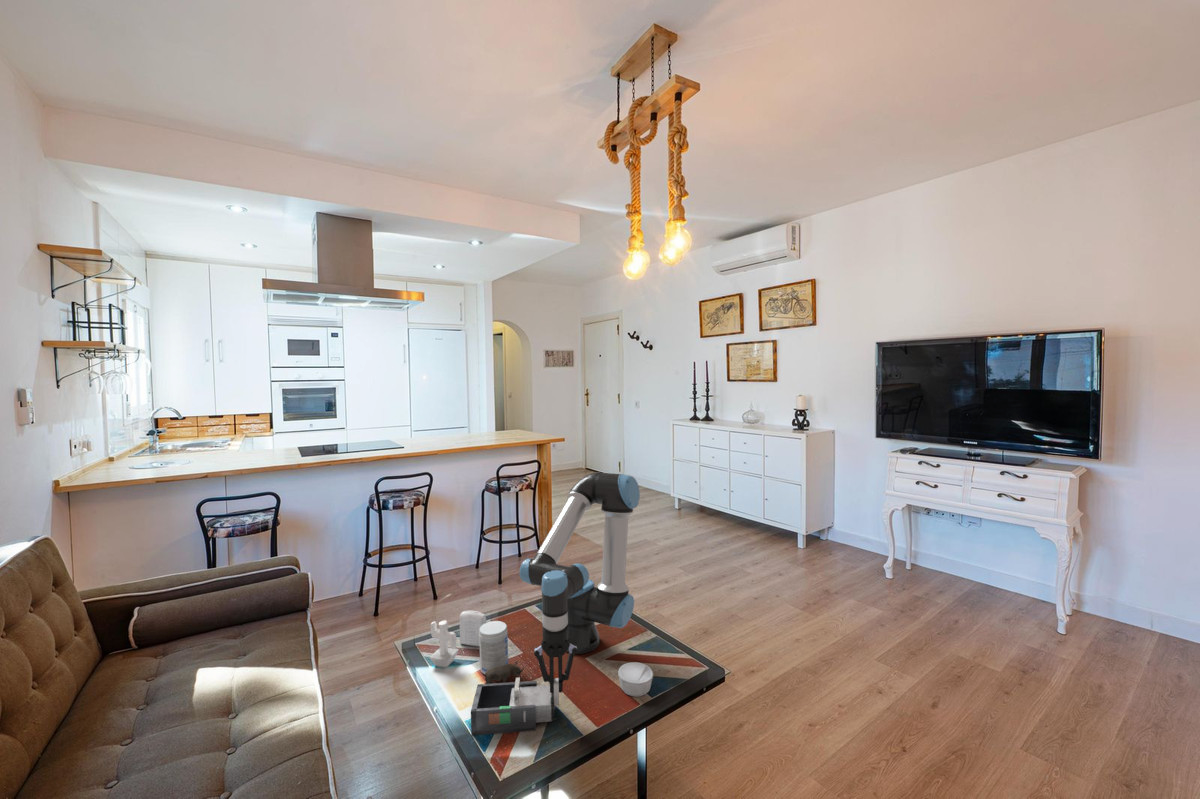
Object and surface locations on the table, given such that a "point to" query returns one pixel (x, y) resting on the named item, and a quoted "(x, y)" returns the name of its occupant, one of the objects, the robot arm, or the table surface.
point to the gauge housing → (500, 710)
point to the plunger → (534, 700)
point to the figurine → (443, 645)
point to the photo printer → (471, 627)
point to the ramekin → (635, 678)
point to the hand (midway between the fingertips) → (556, 701)
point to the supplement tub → (493, 645)
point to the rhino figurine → (502, 673)
